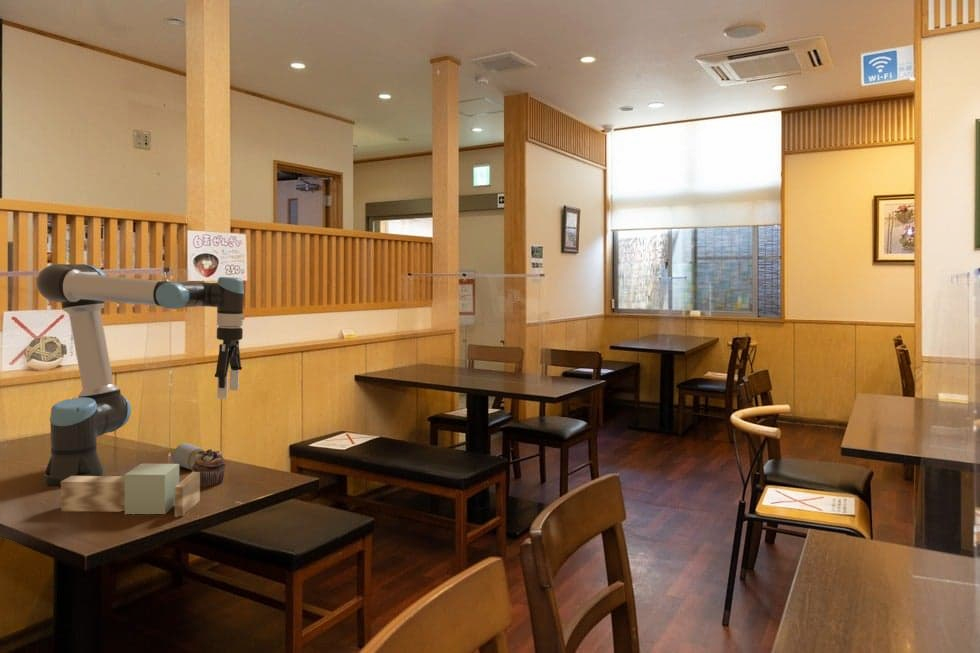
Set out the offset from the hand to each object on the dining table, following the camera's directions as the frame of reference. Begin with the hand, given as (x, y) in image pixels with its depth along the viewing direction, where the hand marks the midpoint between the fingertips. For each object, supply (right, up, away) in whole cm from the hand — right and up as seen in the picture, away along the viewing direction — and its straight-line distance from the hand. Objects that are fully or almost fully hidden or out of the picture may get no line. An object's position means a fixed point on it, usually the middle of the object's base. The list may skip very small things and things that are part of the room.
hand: (228, 394), depth 209 cm
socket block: (-8, -27, -31) cm, 42 cm away
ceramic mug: (-14, -25, +7) cm, 29 cm away
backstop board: (+1, -28, -30) cm, 41 cm away
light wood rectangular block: (-22, -27, -32) cm, 47 cm away
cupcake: (-3, -26, -8) cm, 27 cm away
